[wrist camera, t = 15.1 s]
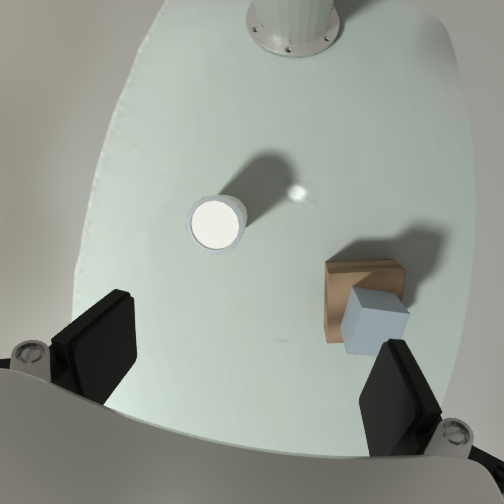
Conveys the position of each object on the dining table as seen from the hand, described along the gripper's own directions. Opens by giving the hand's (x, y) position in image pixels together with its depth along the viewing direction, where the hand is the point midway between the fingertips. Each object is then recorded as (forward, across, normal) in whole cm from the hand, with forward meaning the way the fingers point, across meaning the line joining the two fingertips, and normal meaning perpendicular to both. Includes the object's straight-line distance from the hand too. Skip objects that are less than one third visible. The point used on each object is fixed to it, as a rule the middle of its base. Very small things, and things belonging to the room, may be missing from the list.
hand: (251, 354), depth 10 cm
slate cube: (+26, -13, +9) cm, 30 cm away
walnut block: (+31, -13, +9) cm, 34 cm away
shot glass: (+31, +7, +1) cm, 31 cm away
